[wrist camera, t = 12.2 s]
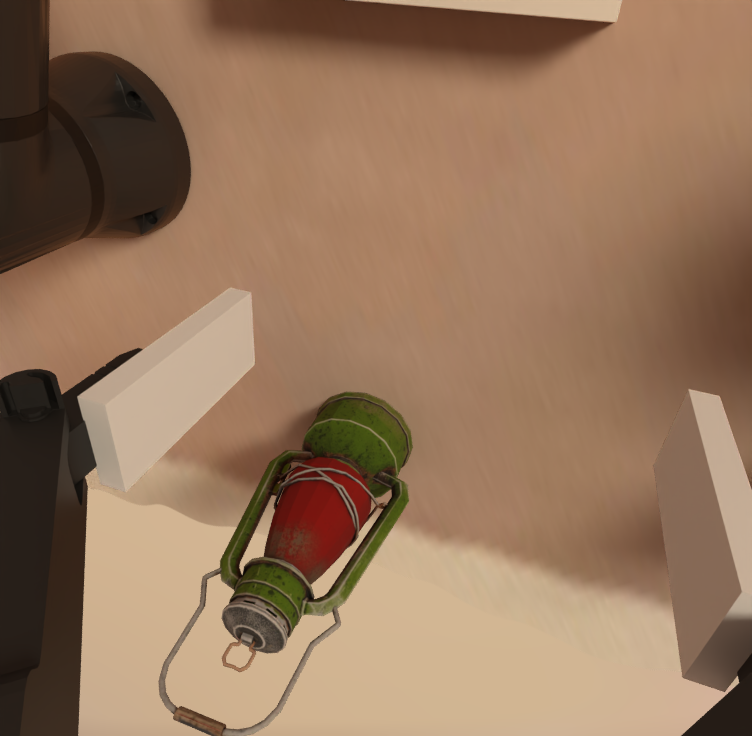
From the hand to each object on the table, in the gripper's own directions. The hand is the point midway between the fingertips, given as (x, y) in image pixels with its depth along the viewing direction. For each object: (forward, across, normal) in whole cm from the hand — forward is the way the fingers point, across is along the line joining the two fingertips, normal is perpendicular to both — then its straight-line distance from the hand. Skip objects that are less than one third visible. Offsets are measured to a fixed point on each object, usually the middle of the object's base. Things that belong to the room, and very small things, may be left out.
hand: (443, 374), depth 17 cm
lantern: (+29, -11, -28) cm, 42 cm away
